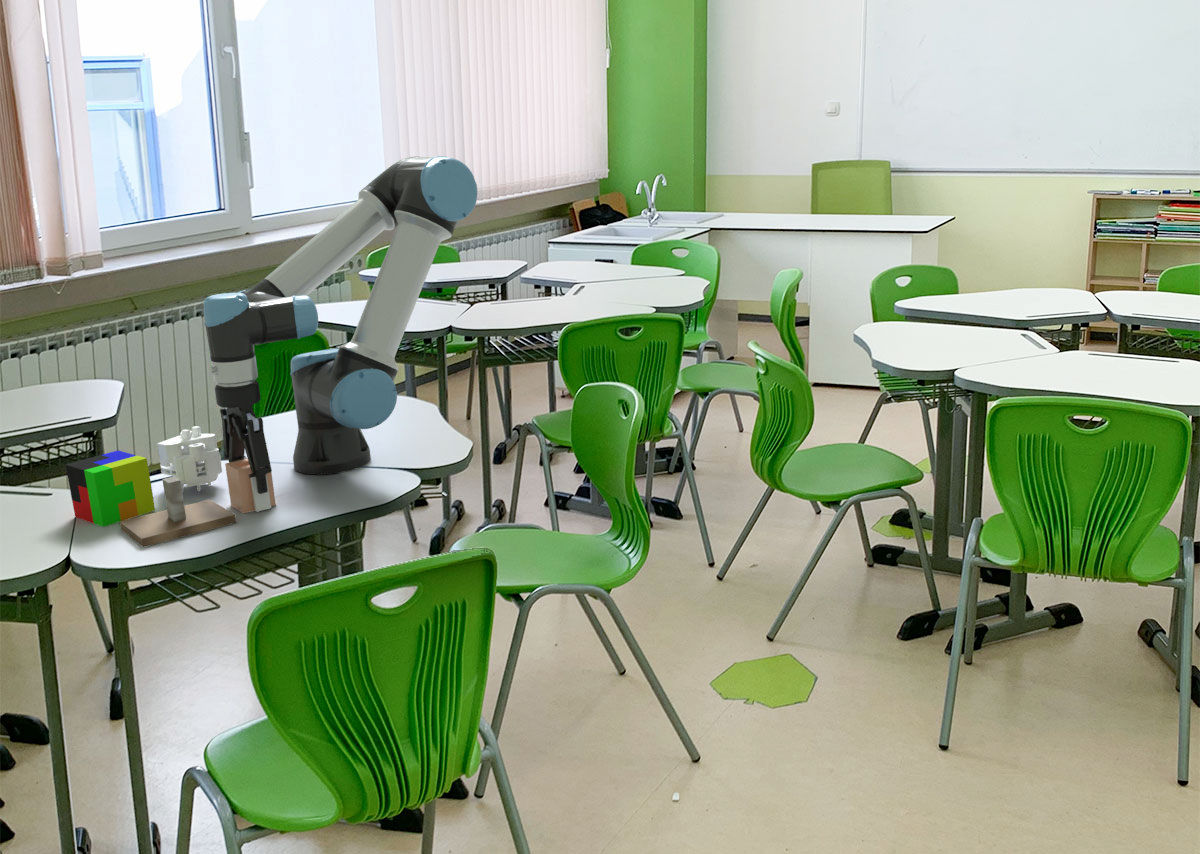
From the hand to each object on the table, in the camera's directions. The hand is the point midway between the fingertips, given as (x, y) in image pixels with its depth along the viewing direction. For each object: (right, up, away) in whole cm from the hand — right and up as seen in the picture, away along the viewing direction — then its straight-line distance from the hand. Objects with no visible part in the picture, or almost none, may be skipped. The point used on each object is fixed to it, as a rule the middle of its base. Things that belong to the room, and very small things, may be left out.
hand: (253, 503), depth 212 cm
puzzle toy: (-25, -2, 0) cm, 25 cm away
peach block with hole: (0, 0, 0) cm, 0 cm away
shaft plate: (-10, -3, -9) cm, 14 cm away
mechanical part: (-15, +2, +12) cm, 19 cm away
